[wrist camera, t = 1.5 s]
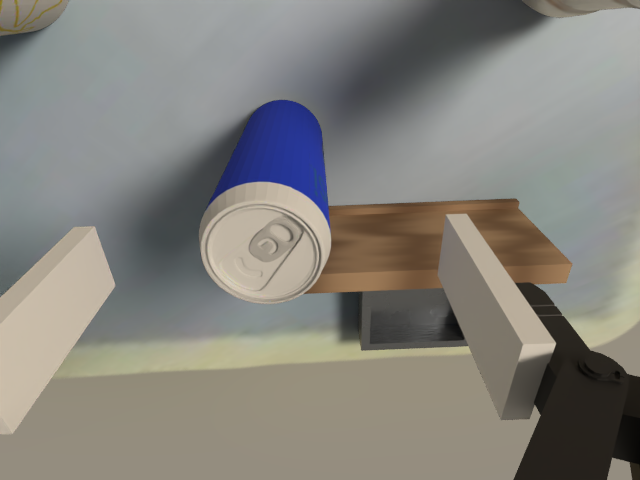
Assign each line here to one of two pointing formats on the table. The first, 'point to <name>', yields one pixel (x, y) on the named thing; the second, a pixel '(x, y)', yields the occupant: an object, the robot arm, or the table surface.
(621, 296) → the table surface
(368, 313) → the tray
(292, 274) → the beverage can
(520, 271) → the board
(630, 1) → the plastic bottle
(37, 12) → the cup
